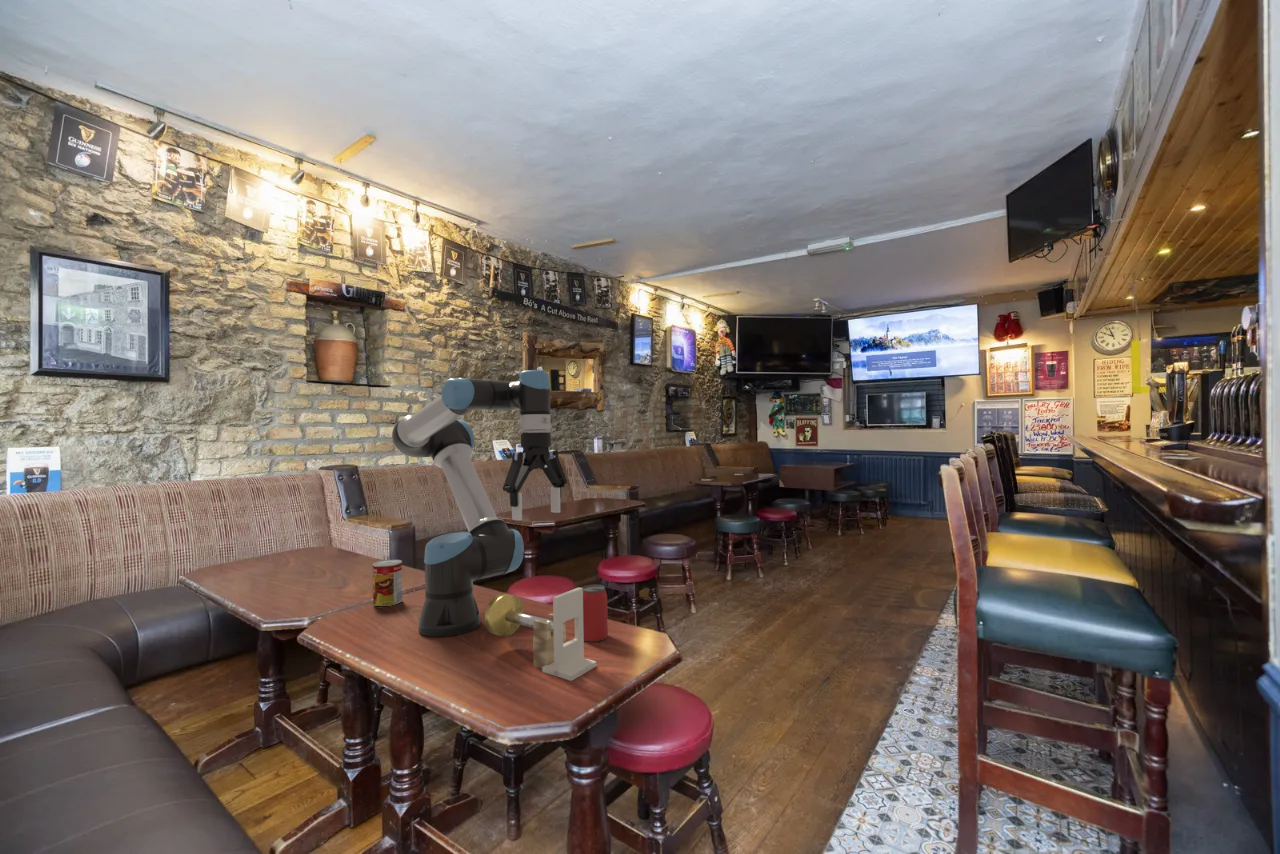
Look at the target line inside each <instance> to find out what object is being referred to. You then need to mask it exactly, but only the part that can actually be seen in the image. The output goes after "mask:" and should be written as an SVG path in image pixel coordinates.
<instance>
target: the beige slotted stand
mask: <svg viewBox="0 0 1280 854" xmlns="http://www.w3.org/2000/svg"><path fill="white" fill-rule="evenodd" d="M552 606H553V607H552V608H553V609H552V610H553V611H552V613H553V624H554V662H553V663H551V664H549V665H548V666H547V665H545V666H543V667H542V669H541V671H542V673H545V674H548V675H552V676H555V677H558V678H561V679H564V680H568V681H569V682H570V681H573V680H575V679H577V678H579V677H580V676H582V675H584V674H586V673H587V672H590V670H591V671H592V670H593V669H594V668H596V667H597V661H596V660H592V659H590V658H585V645H584V641H585V640H584V631H583V587H579V586H578V587H576V588H574V589H573V588H572V589H571V590H569V591H564V592H563V593H560V594H557V595H555V596H552ZM572 619H574V638H573V639H570V640H568V641H566V643H564V644H563V623H564V622H565V623H566V622H568V621H570V620H572Z"/></svg>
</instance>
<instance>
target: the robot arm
mask: <svg viewBox="0 0 1280 854" xmlns="http://www.w3.org/2000/svg"><path fill="white" fill-rule="evenodd" d="M551 388H552V387H551V381H550V374H549V372H548V371H546V370H540V369H529V370H528V369H526V370H522V371H521V372H520V373H519V379H518V380H514V381H510V380H509V381H507V380H494V379H493V380H490V379H477V378H465V377H456V378H455V377H454V378H449V379H447V380H446V381H445V382H444V385H443V386H442V387H441V393H440V395H439V396H438V397H436V398H435V399H433V400H432V401H431V402H430V403H428V404H426V405H425V406H424V407H423V408H421V409H420V410H418V411H417V412H415V413H413V414H407V415H405V416H404V417H402V418H401V419H400V420H398V421H397V422H396V423H395V424H394V426H393V429H392V431H391V432H392V433H391V438H392V443H393V444H394V446H395V448H396V449H397V450H398V451H399V452H401V453H402V454H404V455H406V456H408V457H413V458H431V459H432V461H433V463H434V466H436V467H437V468H439V469H442V471H443V474H444V476H445V478H446V481H447V483H448V485H449V489H450V490H451V492H452V495H453V498H454V500H455V502H456V505H457V507H458V509H459V512H460V514H461V517H462V519H463V522H464V524H465V527H466V528H467V531H457V532H456V531H455V532H449V533H446V534H442V535H439V536H436V537H433V538H432V539H430V540H429V541H428V542H427V543H426V545H425V547H424V558H423V562H424V584H425V585H424V587H425V588H424V589H425V591H424V592H425V597H424V599H425V600H424V603H423V607H422V609H421V613H420V617H419V619H418V633H419V634H420V635H423V636H426V637H434V638H439V637H440V638H441V637H443V638H444V637H452V636H458V635H462V634H465V633H468V632H470V631H474V630H475V629H477V628H478V627H479V626H480V625H481V613H480V610H479V607H478V604H477V601H476V598H475V597H474V581H477V580H478V581H479V580H481V579H486V578H491V577H495V576H500V575H506V574H508V573H511V572H514V571H516V570H517V569H518V568H519V567H520V565H521V564H522V562H523V558H524V552H525V545H524V540H523V536H522V535H521V533H520V531H518V530H517V529H514V528H510V529H509V528H508V525H507V524H506V521H505V520H504V519H502V518H500V517H499V518H498V516H497V515H496V513H495V510H494V508H493V506H492V503H491V502H490V499H489V497H488V495H487V492H486V490H485V488H484V485H483V484H482V482H481V479H480V478H479V475H478V472H477V470H476V468H475V465H474V464H473V461H472V458H471V456H472V453H473V450H474V447H475V439H474V438H475V435H474V432H473V429H472V427H471V426H470V425H469V423H468V422H467V421H465V420H463V419H460V418H462V417H463V416H465V415H467V414H468V413H470V412H471V411H473V410H486V411H487V410H495V411H497V410H498V411H505V412H506V411H507V412H511V411H515V410H519V412H520V413H519V415H520V418H519V421H520V425H519V427H520V431H521V434H520V447H521V448H522V451H513V452H512V457H511V463H510V466H509V468H508V472H507V475H506V478H505V480H504V483H503V486H502V490H503V491H504V492H506V493H508V494H509V504H510V507H511V520H512V521H523V497H522V496H523V493H522V492H520V490H521V489H522V487H523V485H524V484H525V482H526V480H527V478H528V477H529V474H530V473H531V472H532V471H533V470H537V469H540V470H542V471H543V473H544V474H545V476H546V477H547V479H548V480H549V482H550V484H551V485H552V486H551V487H550V513H555V514H560V513H561V499H562V488H564V487H565V485H567V484H568V480H567V477H566V475H565V472H564V469H563V466H562V464H561V461H560V457H559V451H558V450H557V449H549V448H550V447H552V434H551V432H549V431H550V430H551V427H552V425H551Z"/></svg>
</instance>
